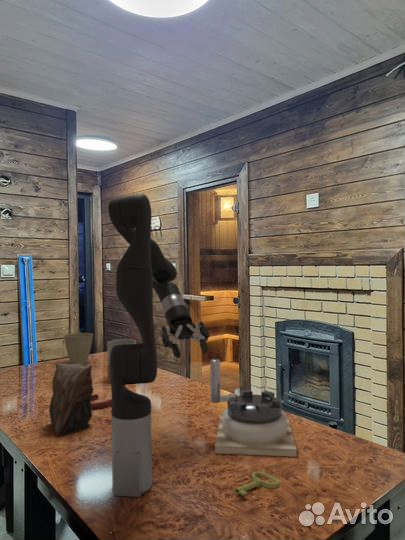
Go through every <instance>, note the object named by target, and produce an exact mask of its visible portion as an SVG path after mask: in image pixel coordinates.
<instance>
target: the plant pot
mask: <svg viewBox="0 0 405 540" xmlns="http://www.w3.org/2000/svg"><path fill="white" fill-rule="evenodd" d="M93 336H94V334H93V333H90V332H75V333H68V334H65V335H64V336H63V338H64V343H65V350H66V353H67V357H68V359H69V362H70V364H78V363H83V364H84V365H86V366H87V362H88V360H89V357H90V352H91V349H92V344H93V339H94V338H93Z"/></svg>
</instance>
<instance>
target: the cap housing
mask: <svg viewBox="0 0 405 540" xmlns="http://www.w3.org/2000/svg"><path fill="white" fill-rule="evenodd" d="M281 412H282V415H281V417H280V418H279V419H278V420H276V421H273V422H269V423H260V424H254V423H245V422H240V421H237V420H234V419H232V418H231V417H230V416H229V415H228V407H227V408H226V409H224V410H223V412H222V416H223V433H224V435H225V436H226V437H227V438H229V439H230V440H233V441H235V442H238V443H242V444H247V445H269V444H274V443H277V442H280V441H282V440H283V439H284V438H285V437H286V436H287V418H288V417H287V415H288V414H287V413H286V412H285V411H284V410H282V409H281Z"/></svg>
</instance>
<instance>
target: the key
mask: <svg viewBox="0 0 405 540" xmlns="http://www.w3.org/2000/svg"><path fill="white" fill-rule="evenodd" d="M259 476H260V477H265V478H267V479H269V480H270V481H272V482H268V481H266V480H263V479H261V478H260V477H259ZM251 480H252V482H249V483H247V484H244V485H241V486H238V487H235V489H234V491H235V494H237V495H239V494H240V495H242V496H247V495H248V491H249V490H252V489H254V488H260V487H262V488H267V489H277V488H279V487H280V480H278V479H277V477H274V476H273V475H270V474H267V473H266V472H263V471H253V472H252V474H251Z"/></svg>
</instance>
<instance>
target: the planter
mask: <svg viewBox="0 0 405 540" xmlns="http://www.w3.org/2000/svg"><path fill="white" fill-rule="evenodd" d="M106 344H107V349H106V350H107V359H106V360H107V361H106V362H107V383H108V382H110V383H111V375H110V353H111V349H112V348H113V346H115V345H122V344H126V345H127V344H137V340H135V339H131V338H130V339H113V340H109V341H107V343H106Z"/></svg>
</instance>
